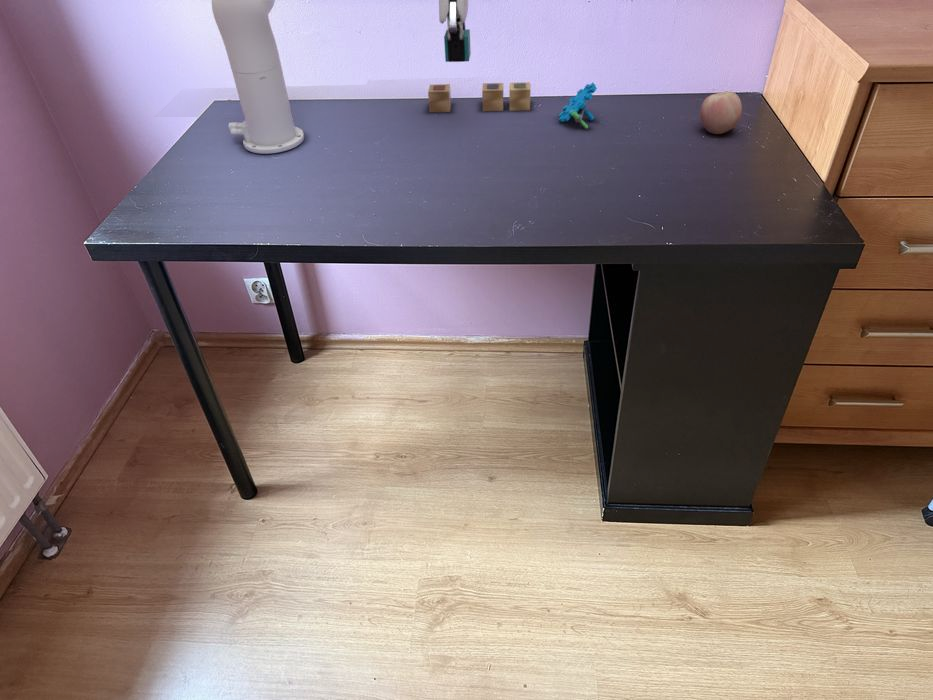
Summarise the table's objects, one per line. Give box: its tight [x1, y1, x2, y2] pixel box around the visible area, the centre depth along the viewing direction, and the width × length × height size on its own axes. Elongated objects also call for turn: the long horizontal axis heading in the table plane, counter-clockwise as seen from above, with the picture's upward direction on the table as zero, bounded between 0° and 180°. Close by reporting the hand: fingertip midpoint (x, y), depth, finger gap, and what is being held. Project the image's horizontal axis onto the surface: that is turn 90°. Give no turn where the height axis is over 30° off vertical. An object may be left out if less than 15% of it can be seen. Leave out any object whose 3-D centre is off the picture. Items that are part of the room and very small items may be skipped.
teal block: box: [443, 28, 472, 63], centre depth 129 cm, size 5×5×5 cm
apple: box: [699, 90, 743, 135], centre depth 132 cm, size 8×8×8 cm
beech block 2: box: [481, 82, 504, 112], centre depth 148 cm, size 5×5×5 cm
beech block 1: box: [427, 83, 452, 113], centre depth 149 cm, size 5×5×5 cm
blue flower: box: [558, 82, 598, 130], centre depth 140 cm, size 11×6×10 cm
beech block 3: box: [508, 81, 531, 112], centre depth 147 cm, size 5×5×5 cm
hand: (457, 55), depth 130 cm, fingers closed on teal block, 4 cm apart
